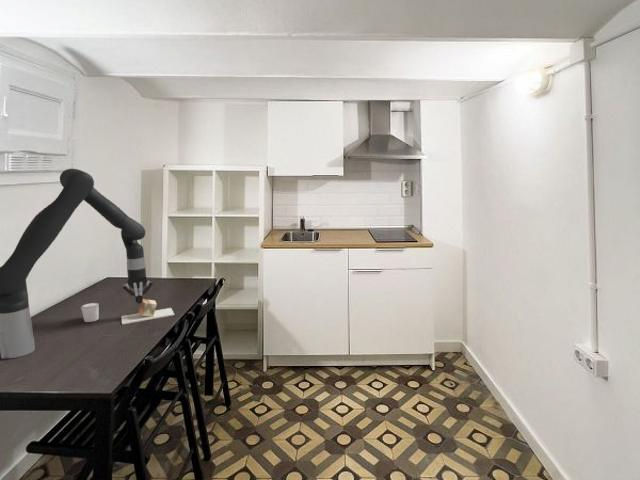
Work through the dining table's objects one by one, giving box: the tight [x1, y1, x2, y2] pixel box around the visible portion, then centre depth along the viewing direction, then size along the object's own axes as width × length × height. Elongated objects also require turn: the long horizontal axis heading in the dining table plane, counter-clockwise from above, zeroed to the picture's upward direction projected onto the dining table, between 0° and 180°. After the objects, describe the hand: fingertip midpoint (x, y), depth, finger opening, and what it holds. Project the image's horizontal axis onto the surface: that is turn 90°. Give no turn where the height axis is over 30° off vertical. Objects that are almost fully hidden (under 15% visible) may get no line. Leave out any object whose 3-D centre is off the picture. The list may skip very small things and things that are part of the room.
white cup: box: [80, 302, 100, 323], centre depth 162 cm, size 7×7×7 cm
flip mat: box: [121, 307, 175, 325], centre depth 167 cm, size 22×10×1 cm, turn 121°
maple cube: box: [138, 298, 158, 316], centre depth 166 cm, size 6×6×6 cm
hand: (139, 303), depth 164 cm, fingers closed
